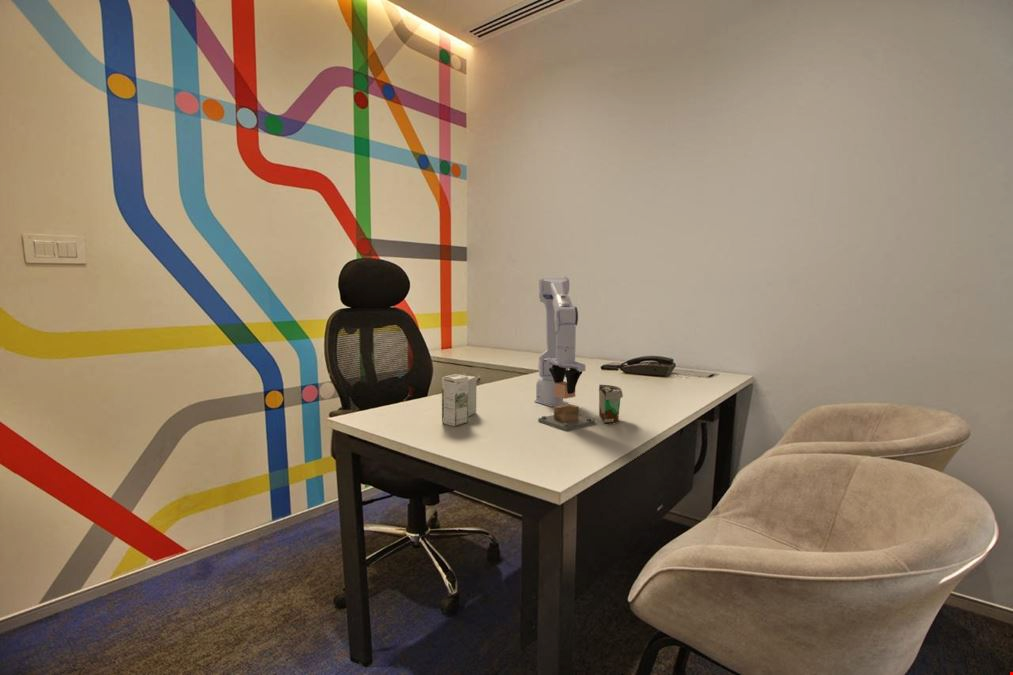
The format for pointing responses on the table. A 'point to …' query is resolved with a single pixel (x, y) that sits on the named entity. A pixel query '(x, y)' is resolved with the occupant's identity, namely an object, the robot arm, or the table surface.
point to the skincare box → (471, 395)
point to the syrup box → (454, 399)
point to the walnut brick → (566, 413)
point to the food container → (609, 403)
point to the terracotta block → (562, 390)
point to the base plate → (567, 425)
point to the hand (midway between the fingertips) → (565, 391)
